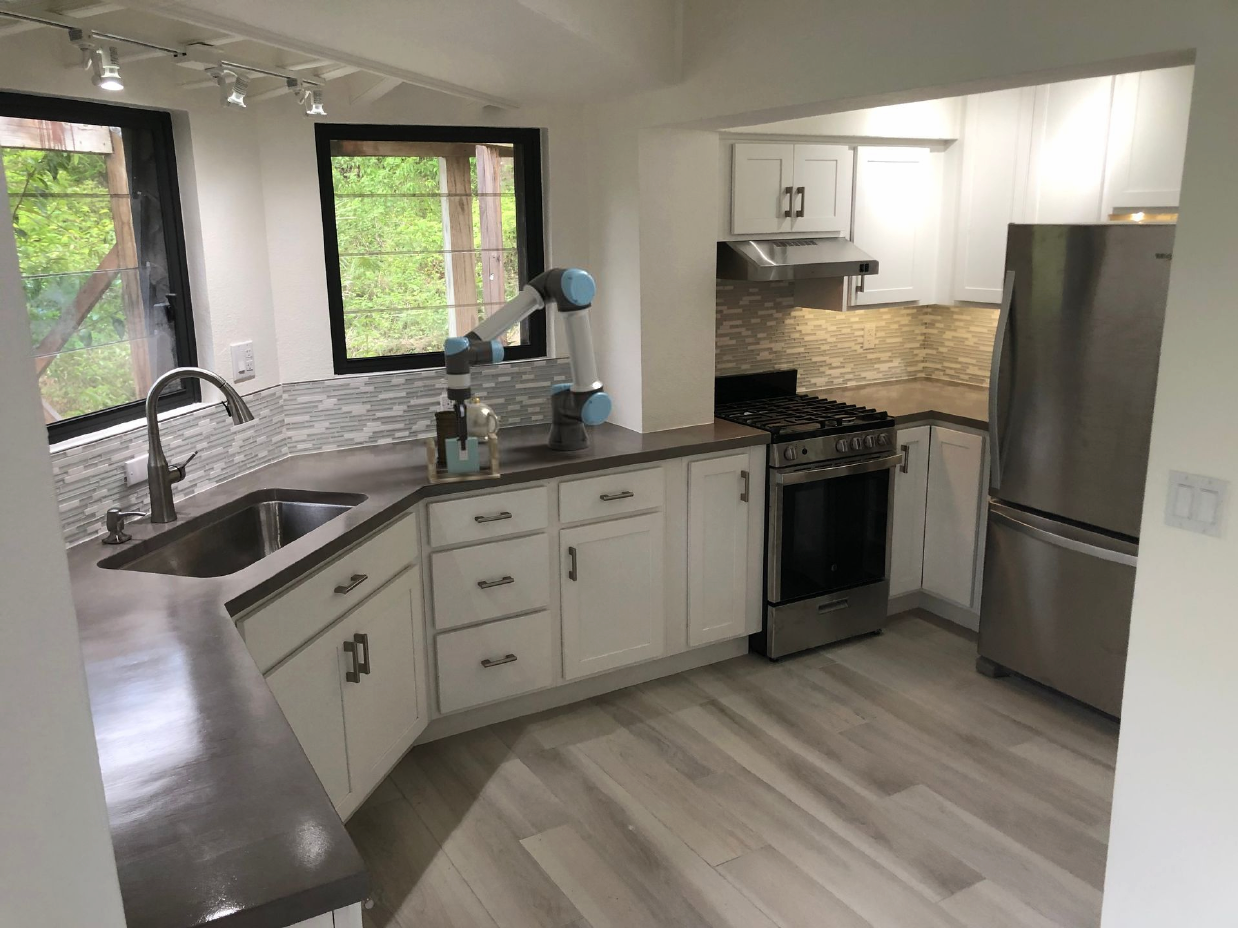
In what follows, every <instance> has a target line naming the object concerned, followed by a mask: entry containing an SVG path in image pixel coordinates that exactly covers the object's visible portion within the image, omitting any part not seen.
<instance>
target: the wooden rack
mask: <svg viewBox="0 0 1238 928" xmlns="http://www.w3.org/2000/svg"><path fill="white" fill-rule="evenodd" d="M498 440H499V439H498V437H497V435H496V434H494V433H488V441H487V445H488V446H487V447H488V461H489V462H488V463H489V464H488V465H481V466H480V465H479V470H480V471H477V472H465V473H453V474H448V473H447V468H442V469H441V468H440V469H437V459H436V446H435V444H436V443H435V441H434V438H433V437H426V438H425V446H426V460H427V461H426V462H427V463H426V464H427V477H428V479H429V482H430V484H442V483H454V482H456V483H457V482H466V481H478V480H488V479H489V480H490V479H491V480H492V479H499V478H501V474H500V467H499V466H500V465H499V461H500V460H499V441H498Z"/></svg>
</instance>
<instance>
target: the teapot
mask: <svg viewBox="0 0 1238 928" xmlns="http://www.w3.org/2000/svg"><path fill="white" fill-rule="evenodd" d="M466 405H467V410H466V411H467V437H477V439H478V444H481V443H486V442H487V443H488V433H494V434H495V435H496V434H497V432H498V431H499V428H500V427H499V426H500V422H499V418H498V416H497V415H496V414H495V412H494V411H493V409H492V408H491V407H490V406H489V405H488V404H485V403H483V402H480V399H479V398H478V397H475V398H474V399H473V402H471V403H469V404H466Z"/></svg>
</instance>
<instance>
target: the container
mask: <svg viewBox="0 0 1238 928" xmlns="http://www.w3.org/2000/svg"><path fill="white" fill-rule="evenodd" d="M434 417H435V428H436V430H435V431H436V443H437V449H436V451H437V457H436V466H438V468H439V467H440V468H447V459H446V443H445V439H453V438H457V436H456V433H455V431H456V428H455V416H454V410H440V411H437V412H435V413H434Z"/></svg>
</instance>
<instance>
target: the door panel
mask: <svg viewBox="0 0 1238 928" xmlns="http://www.w3.org/2000/svg"><path fill="white" fill-rule="evenodd" d="M457 439H458V438H453V439H445V443H446V459H447V467H446V469H447V473H448V474H453V473H465V472H477V471H480V470H479V466H480V455H479V443H478V439H477V437H468V439H467V449H468V460H459V445H458V441H457Z"/></svg>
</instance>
